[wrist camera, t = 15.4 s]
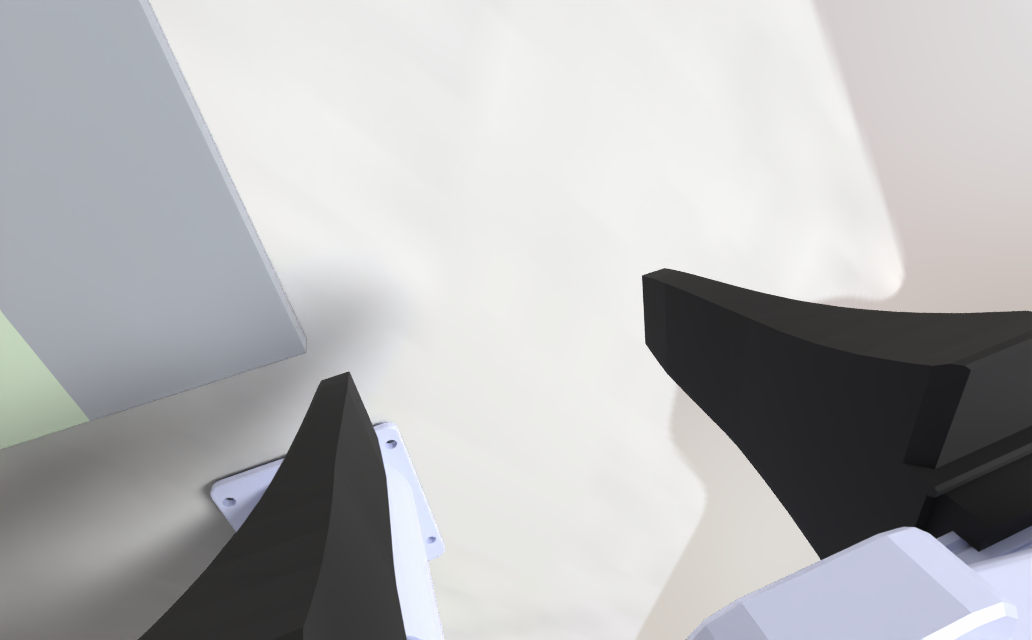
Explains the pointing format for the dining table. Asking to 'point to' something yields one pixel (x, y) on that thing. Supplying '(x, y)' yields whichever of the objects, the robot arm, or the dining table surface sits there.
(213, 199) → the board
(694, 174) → the dining table surface
